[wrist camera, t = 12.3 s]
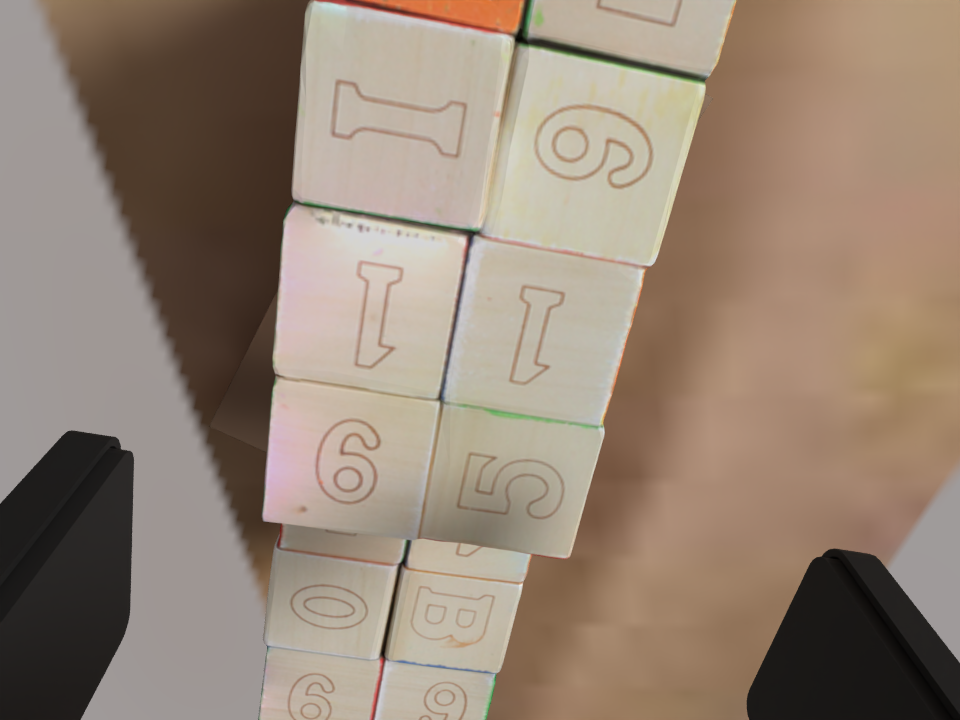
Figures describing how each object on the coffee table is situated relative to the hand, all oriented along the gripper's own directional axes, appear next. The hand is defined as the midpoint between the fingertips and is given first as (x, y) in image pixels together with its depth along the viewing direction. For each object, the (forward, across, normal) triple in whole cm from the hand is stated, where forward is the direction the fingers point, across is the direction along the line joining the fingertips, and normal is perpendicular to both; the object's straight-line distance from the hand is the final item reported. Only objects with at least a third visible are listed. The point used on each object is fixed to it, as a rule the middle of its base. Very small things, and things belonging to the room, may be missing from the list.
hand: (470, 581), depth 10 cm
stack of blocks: (+16, 0, +1) cm, 16 cm away
